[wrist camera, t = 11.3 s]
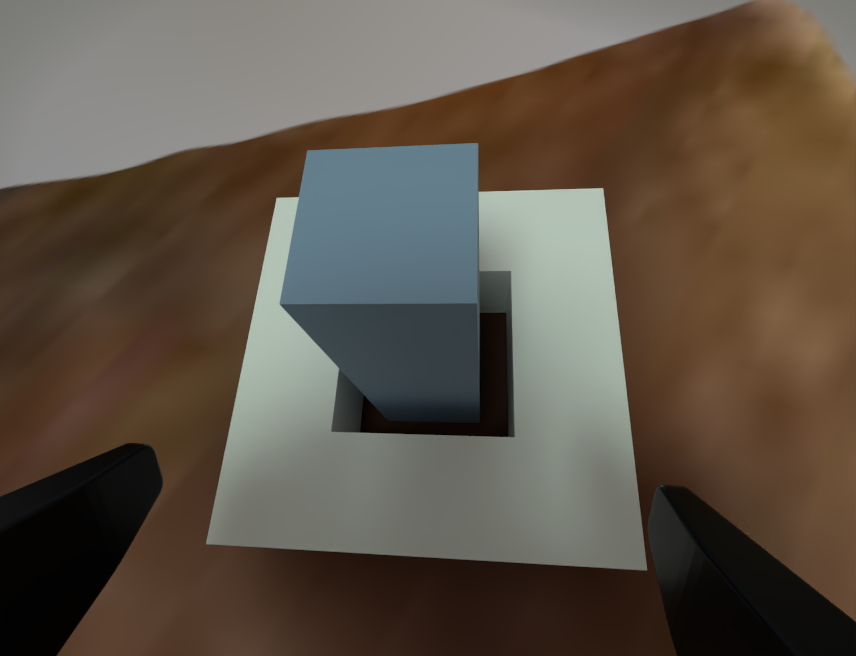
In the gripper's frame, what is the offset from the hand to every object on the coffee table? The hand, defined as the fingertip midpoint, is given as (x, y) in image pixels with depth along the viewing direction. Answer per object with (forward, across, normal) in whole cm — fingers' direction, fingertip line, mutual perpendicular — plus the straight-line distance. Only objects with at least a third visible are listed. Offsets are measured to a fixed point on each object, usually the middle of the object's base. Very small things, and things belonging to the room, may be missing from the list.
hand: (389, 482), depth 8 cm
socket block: (+12, +1, +4) cm, 13 cm away
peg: (+12, +1, +4) cm, 13 cm away
